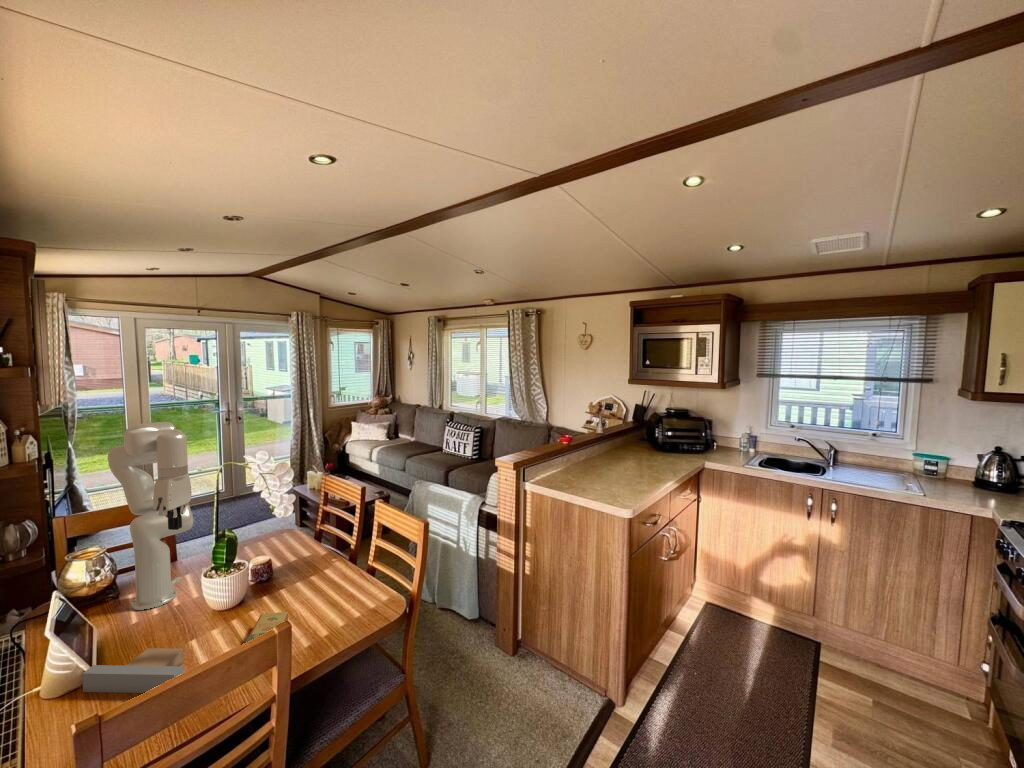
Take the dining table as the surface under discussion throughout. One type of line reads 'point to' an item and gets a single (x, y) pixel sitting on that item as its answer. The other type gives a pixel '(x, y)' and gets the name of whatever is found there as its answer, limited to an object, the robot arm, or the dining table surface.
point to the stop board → (127, 678)
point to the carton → (267, 623)
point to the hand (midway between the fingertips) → (175, 528)
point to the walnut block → (159, 657)
